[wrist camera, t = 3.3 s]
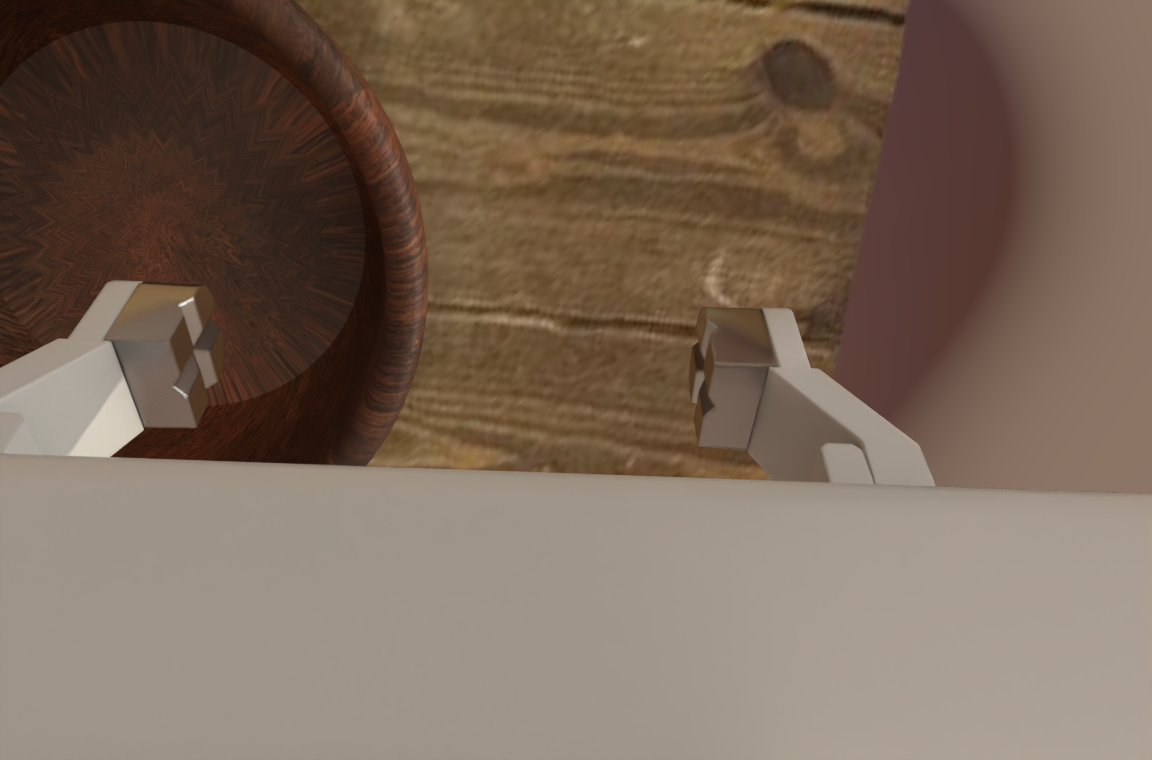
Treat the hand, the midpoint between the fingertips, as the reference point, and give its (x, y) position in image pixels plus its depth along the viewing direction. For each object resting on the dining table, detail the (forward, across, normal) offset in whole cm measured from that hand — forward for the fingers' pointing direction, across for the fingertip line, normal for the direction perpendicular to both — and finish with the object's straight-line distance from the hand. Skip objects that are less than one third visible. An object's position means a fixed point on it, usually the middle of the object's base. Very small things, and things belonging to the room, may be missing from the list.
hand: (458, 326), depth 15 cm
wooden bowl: (+24, +16, +13) cm, 32 cm away
